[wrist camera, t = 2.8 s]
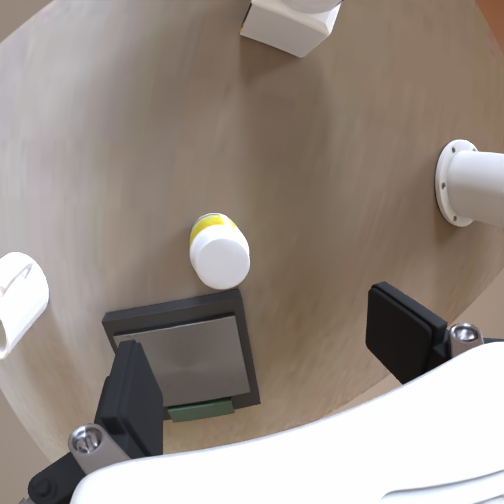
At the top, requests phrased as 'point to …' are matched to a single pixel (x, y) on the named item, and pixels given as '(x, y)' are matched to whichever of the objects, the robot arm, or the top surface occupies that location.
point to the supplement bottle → (218, 251)
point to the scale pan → (194, 358)
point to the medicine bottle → (290, 23)
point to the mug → (19, 298)
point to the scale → (188, 312)
